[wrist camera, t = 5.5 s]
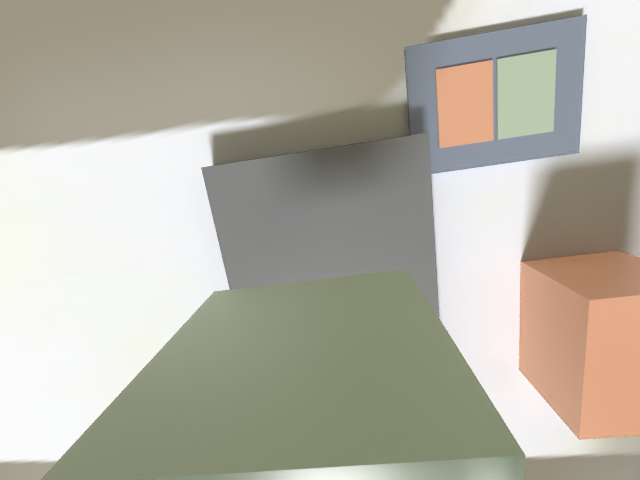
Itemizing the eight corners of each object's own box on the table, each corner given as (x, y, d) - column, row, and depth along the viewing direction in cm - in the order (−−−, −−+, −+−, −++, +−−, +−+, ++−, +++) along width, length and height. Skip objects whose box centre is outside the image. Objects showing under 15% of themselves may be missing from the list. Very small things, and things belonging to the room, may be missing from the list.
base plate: (435, 370, 19) (443, 387, 18) (262, 385, 20) (256, 403, 19) (420, 134, 16) (428, 132, 14) (212, 166, 17) (201, 167, 15)
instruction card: (574, 152, 16) (580, 152, 15) (413, 175, 16) (414, 176, 16) (581, 17, 14) (588, 13, 14) (404, 49, 15) (405, 46, 15)
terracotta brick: (605, 361, 19) (698, 431, 14) (517, 368, 19) (579, 439, 14) (615, 249, 17) (726, 286, 12) (519, 260, 17) (589, 300, 13)
